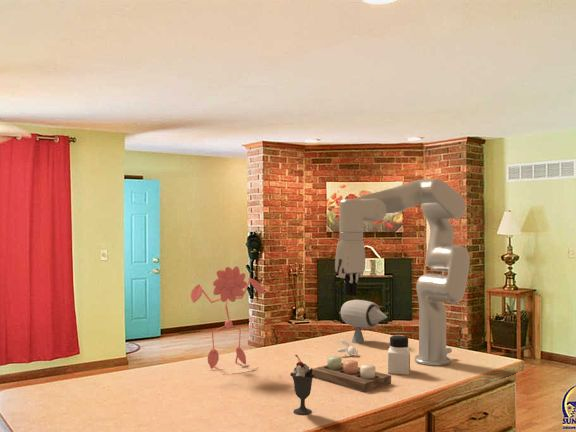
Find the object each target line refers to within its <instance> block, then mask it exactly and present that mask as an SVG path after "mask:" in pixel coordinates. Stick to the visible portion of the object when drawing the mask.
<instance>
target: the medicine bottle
mask: <svg viewBox="0 0 576 432" xmlns="http://www.w3.org/2000/svg"><path fill="white" fill-rule="evenodd" d="M387 350H388V351H387V375H406V376H407V375H408V376H409V375H410V373H411V351H410V350H411V349H410V348H409V337H408V336H406V335H401V334H395V335H391V336H390V337H389V348H388V349H387Z"/></svg>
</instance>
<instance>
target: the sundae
mask: <svg viewBox="0 0 576 432" xmlns="http://www.w3.org/2000/svg"><path fill="white" fill-rule="evenodd" d="M294 356H295V357H296V358H297V360H298V362H297V363H296V367H294V369H293V372H290V377H292V380H293V388H294V393H295V395H296V397H298V398H299V399H300V405H299V407H298V408H295V409H294V410H293V413H294V414H295V415H297V416H298V415H300V416H307V415H311V414H312V413H313V411H312V410H311V409H310V408H308V407H306V402H305V401H306V399H307V398H308V397H309V396H310V394H311V392H312V386H313V385H312V384H313V383H312V382H313V379H314V376H315V373H312V369H313V368H310V366H309V365H307V364H306V363H304V362H303V361H301V359H300V357H299V356H298V354H295V355H294Z"/></svg>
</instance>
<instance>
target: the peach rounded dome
mask: <svg viewBox="0 0 576 432" xmlns="http://www.w3.org/2000/svg"><path fill="white" fill-rule="evenodd" d="M342 363H343V373H344V374H348V375H355V374H358V367H359V362H358V361H357V360H353V359H352V360H351V359H350V360H349V359H348V360H344V361H343V362H342Z"/></svg>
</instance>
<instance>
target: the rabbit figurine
mask: <svg viewBox="0 0 576 432" xmlns="http://www.w3.org/2000/svg"><path fill="white" fill-rule="evenodd" d="M340 343H341V344H342V345H343V346H345V347H343V348H338V349H337V350H336V351H337V352H338V353H345V352H346V354H345V355H344V356H346V355H348V356H352V355H354V356H355V357H358V355H359V354H358V353H359V351H358V349H357V348H355V346H353V345H350V343H349V342H347V341H346V340H345V339H343V338H340Z"/></svg>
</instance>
